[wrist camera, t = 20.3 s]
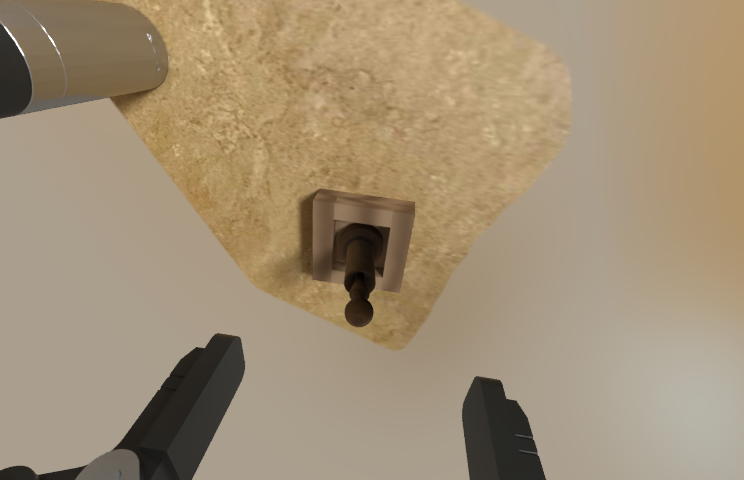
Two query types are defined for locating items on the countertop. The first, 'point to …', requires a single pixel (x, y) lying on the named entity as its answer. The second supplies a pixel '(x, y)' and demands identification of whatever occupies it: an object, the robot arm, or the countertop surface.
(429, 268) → the countertop surface
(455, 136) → the countertop surface
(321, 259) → the brown flat square frame
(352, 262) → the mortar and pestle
